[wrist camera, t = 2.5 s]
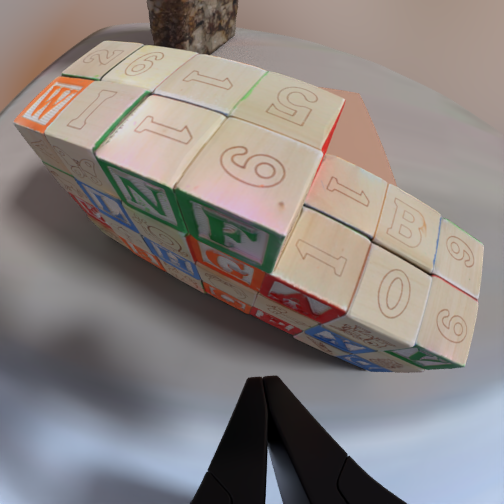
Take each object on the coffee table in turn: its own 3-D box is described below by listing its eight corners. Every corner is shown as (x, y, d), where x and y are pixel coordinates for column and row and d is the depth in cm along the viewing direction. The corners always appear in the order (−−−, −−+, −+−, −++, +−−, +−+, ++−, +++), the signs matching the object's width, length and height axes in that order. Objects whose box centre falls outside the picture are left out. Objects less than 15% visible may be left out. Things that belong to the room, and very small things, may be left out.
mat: (401, 214, 22) (404, 210, 22) (86, 211, 21) (83, 207, 20) (357, 97, 29) (359, 93, 28) (129, 91, 27) (128, 87, 26)
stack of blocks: (399, 292, 19) (527, 219, 8) (370, 373, 17) (519, 368, 6) (147, 169, 21) (102, 36, 10) (100, 233, 19) (8, 117, 8)
